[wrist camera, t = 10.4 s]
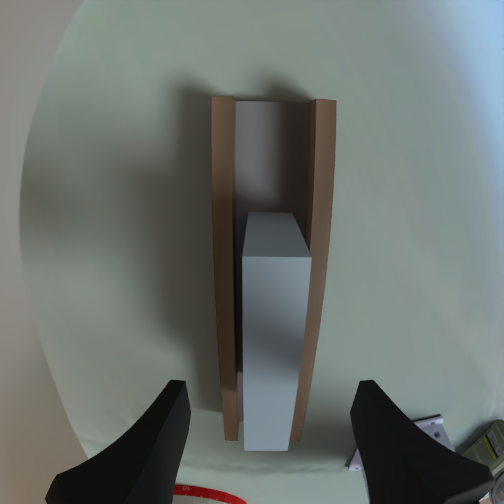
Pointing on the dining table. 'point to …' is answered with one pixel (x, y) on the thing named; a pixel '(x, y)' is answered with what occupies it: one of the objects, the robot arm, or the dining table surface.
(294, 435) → the floor track
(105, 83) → the dining table surface
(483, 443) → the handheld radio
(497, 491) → the decorative orb
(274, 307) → the door panel
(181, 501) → the kitchen timer
